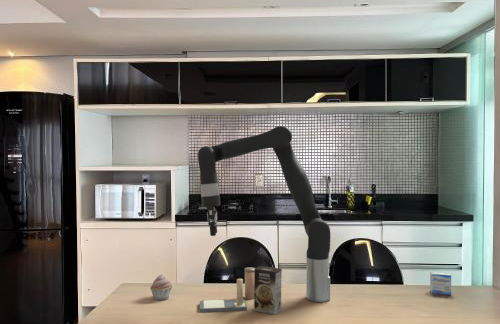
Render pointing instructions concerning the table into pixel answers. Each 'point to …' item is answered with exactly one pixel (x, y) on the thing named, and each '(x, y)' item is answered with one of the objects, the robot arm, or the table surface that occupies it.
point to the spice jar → (249, 282)
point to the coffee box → (267, 290)
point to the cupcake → (161, 288)
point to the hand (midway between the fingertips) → (213, 234)
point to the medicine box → (440, 283)
